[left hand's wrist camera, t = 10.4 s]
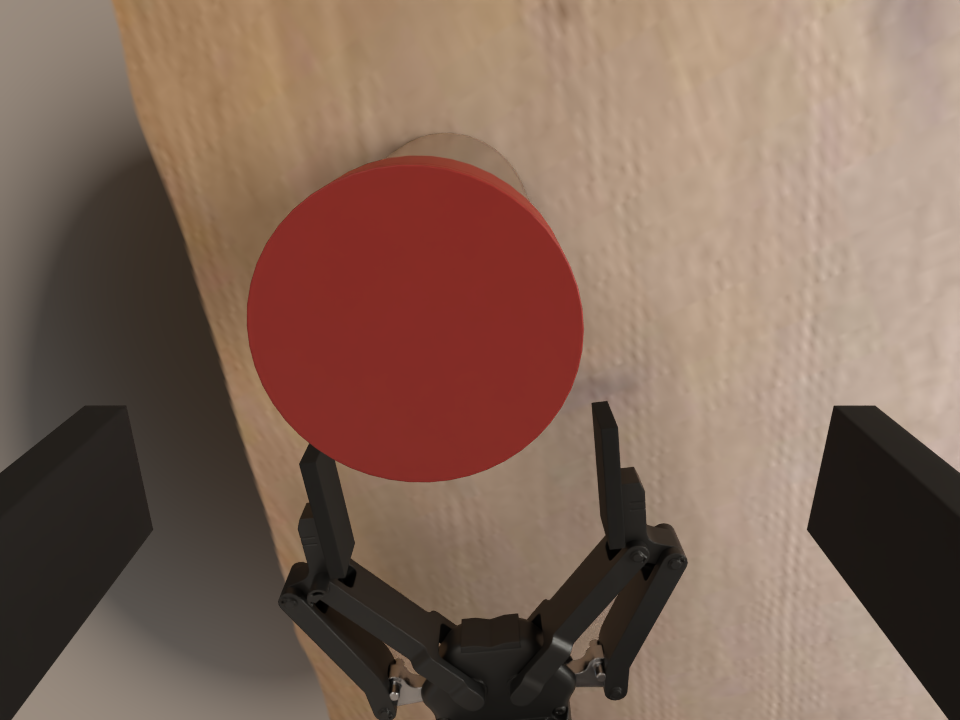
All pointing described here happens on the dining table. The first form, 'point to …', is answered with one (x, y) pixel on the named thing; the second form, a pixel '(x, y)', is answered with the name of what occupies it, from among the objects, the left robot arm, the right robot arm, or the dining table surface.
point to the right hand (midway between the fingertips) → (457, 430)
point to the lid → (416, 320)
